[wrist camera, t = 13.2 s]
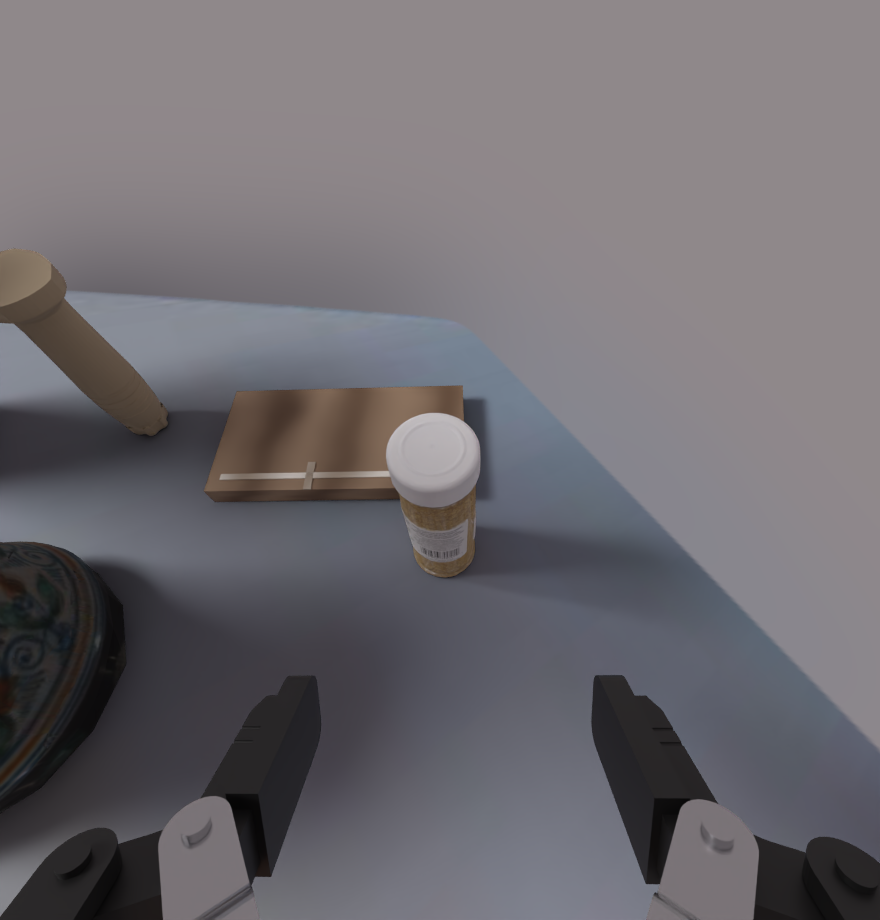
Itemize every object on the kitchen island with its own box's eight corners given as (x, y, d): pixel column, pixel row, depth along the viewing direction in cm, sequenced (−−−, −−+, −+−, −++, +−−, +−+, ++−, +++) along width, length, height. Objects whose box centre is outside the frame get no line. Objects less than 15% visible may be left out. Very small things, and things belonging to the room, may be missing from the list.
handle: (157, 391, 41) (23, 240, 29) (195, 424, 39) (67, 275, 26) (110, 423, 39) (-56, 277, 27) (147, 460, 37) (-16, 318, 24)
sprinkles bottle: (482, 531, 32) (493, 422, 21) (463, 588, 30) (462, 502, 19) (425, 512, 33) (406, 399, 22) (402, 567, 31) (367, 472, 20)
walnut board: (214, 501, 35) (203, 490, 33) (245, 404, 40) (236, 390, 38) (465, 497, 34) (465, 486, 32) (462, 399, 39) (462, 384, 38)
